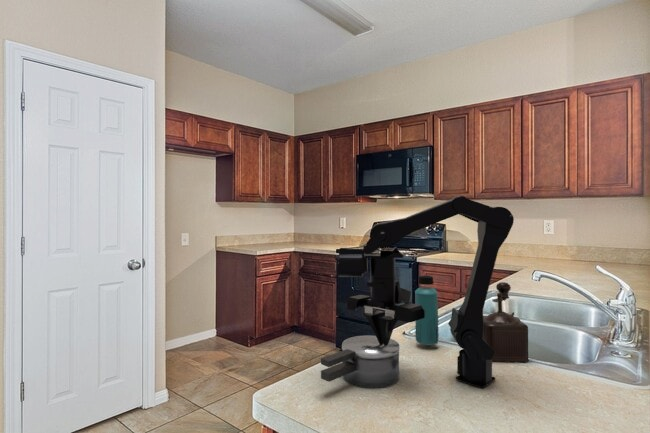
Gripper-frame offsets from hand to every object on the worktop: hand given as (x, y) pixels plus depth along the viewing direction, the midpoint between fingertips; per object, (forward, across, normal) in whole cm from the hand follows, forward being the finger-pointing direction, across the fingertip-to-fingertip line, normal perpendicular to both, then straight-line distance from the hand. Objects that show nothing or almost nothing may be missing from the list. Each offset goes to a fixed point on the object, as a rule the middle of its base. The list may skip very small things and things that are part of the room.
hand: (383, 344), depth 90 cm
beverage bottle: (+8, +4, -25) cm, 26 cm away
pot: (+7, +3, +6) cm, 10 cm away
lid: (+1, +2, +6) cm, 7 cm away
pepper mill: (+8, -12, -35) cm, 38 cm away
